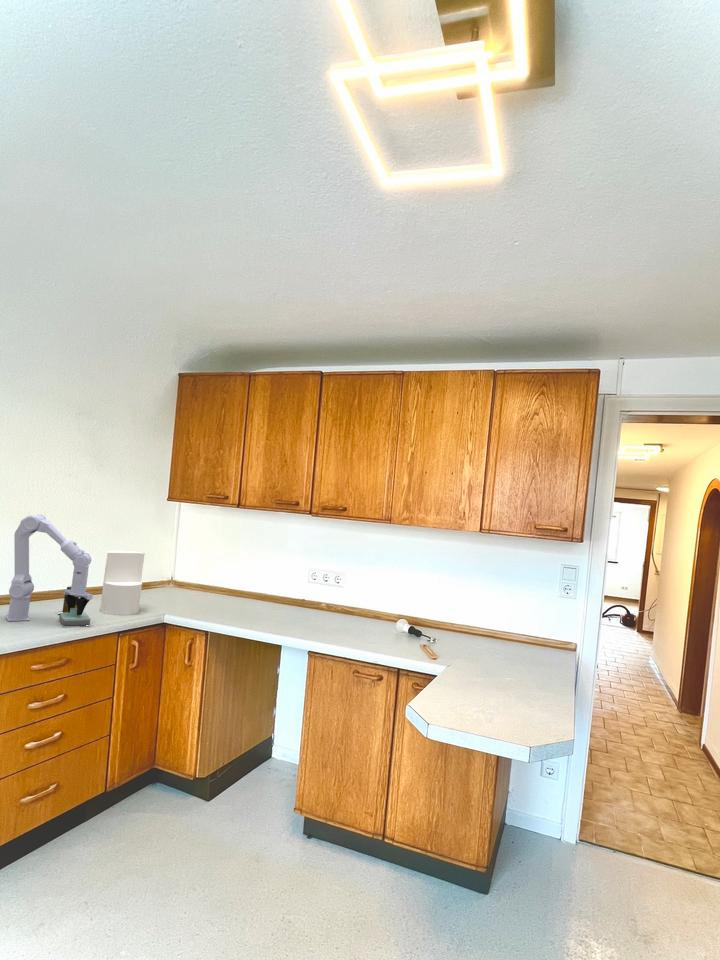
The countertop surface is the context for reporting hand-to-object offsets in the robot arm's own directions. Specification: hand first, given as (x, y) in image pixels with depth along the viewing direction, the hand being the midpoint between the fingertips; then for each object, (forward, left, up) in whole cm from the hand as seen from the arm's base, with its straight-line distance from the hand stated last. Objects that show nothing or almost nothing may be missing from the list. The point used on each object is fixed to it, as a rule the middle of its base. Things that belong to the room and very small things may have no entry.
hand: (75, 613), depth 239 cm
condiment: (-18, 0, -4) cm, 18 cm away
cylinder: (-21, +23, -4) cm, 31 cm away
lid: (0, 0, -2) cm, 2 cm away
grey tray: (0, 0, -4) cm, 4 cm away
